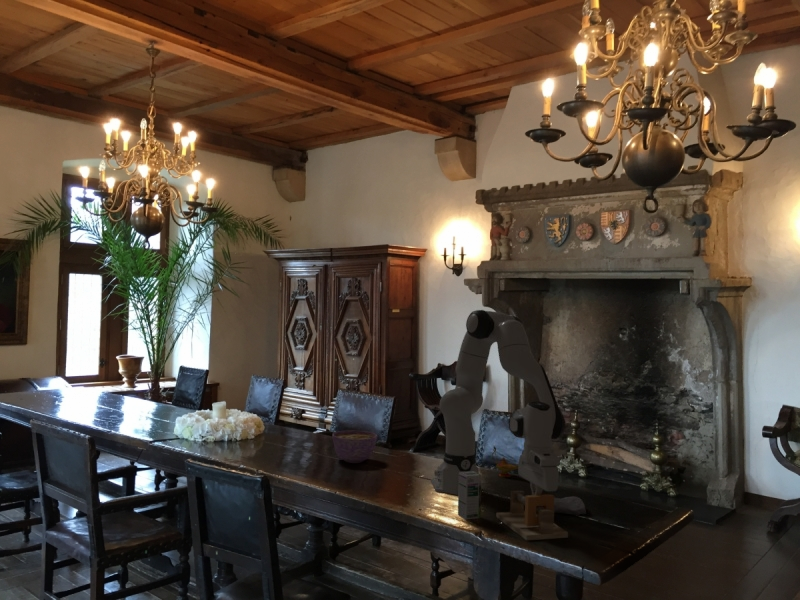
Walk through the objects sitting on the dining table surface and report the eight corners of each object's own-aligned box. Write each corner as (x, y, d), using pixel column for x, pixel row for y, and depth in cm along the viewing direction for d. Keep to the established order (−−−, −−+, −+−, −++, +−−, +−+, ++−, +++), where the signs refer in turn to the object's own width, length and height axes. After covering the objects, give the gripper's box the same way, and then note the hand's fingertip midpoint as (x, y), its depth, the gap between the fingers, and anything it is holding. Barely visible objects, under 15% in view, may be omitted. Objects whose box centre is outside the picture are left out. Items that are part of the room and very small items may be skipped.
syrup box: (465, 520, 215) (467, 475, 215) (457, 514, 220) (458, 471, 220) (480, 518, 217) (482, 474, 217) (472, 513, 222) (473, 470, 222)
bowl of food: (376, 456, 301) (377, 431, 301) (376, 467, 281) (377, 440, 281) (332, 455, 300) (333, 429, 300) (329, 465, 280) (330, 438, 280)
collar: (524, 524, 205) (525, 495, 205) (550, 522, 207) (551, 494, 207) (527, 526, 203) (528, 497, 203) (553, 524, 205) (554, 496, 206)
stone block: (588, 520, 225) (579, 505, 235) (588, 507, 224) (579, 493, 234) (553, 521, 224) (546, 506, 234) (554, 508, 223) (546, 494, 233)
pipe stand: (496, 517, 219) (497, 491, 219) (534, 514, 223) (535, 489, 223) (526, 540, 198) (527, 512, 198) (567, 537, 202) (568, 509, 202)
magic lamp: (519, 482, 264) (520, 455, 264) (485, 472, 277) (486, 446, 277) (530, 479, 268) (531, 453, 268) (496, 470, 282) (497, 444, 282)
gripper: (514, 447, 217) (512, 489, 217) (544, 462, 197) (542, 508, 197) (531, 446, 219) (530, 488, 218) (562, 461, 199) (561, 507, 199)
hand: (536, 497), depth 208 cm, fingers closed
